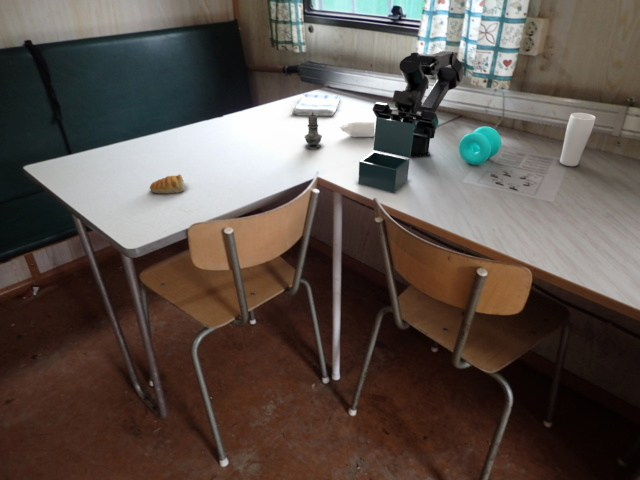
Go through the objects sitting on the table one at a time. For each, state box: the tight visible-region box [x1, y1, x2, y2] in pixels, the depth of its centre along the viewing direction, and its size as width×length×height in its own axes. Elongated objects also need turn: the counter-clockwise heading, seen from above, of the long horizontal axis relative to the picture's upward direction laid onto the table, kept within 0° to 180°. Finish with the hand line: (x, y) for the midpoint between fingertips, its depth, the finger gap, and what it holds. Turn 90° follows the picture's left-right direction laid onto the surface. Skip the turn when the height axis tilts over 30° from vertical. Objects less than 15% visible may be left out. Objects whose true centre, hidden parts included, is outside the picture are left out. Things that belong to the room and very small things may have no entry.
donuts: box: [458, 125, 502, 166], centre depth 142 cm, size 10×10×10 cm
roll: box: [339, 119, 375, 138], centre depth 163 cm, size 6×12×6 cm, turn 89°
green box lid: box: [372, 117, 415, 159], centre depth 129 cm, size 9×11×1 cm
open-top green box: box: [357, 150, 410, 194], centre depth 131 cm, size 9×11×7 cm
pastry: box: [149, 173, 185, 195], centre depth 129 cm, size 9×7×4 cm
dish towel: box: [291, 93, 341, 117], centre depth 193 cm, size 17×24×3 cm
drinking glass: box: [559, 112, 597, 167], centre depth 138 cm, size 7×7×15 cm
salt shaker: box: [304, 112, 323, 150], centre depth 153 cm, size 6×6×12 cm
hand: (394, 142), depth 131 cm, fingers closed
